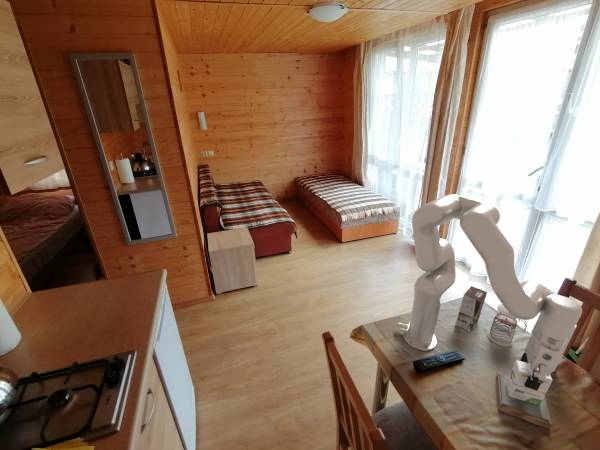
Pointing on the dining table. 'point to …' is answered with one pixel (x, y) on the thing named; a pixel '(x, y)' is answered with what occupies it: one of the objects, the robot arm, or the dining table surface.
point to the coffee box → (471, 308)
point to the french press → (500, 333)
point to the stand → (521, 405)
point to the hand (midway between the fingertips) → (528, 375)
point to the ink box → (518, 380)
